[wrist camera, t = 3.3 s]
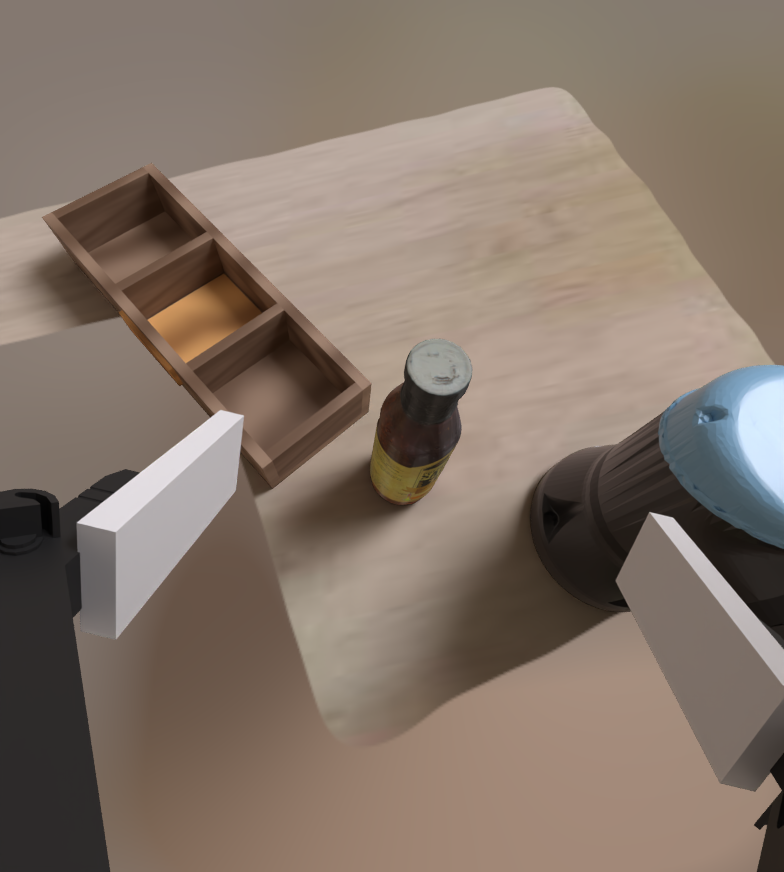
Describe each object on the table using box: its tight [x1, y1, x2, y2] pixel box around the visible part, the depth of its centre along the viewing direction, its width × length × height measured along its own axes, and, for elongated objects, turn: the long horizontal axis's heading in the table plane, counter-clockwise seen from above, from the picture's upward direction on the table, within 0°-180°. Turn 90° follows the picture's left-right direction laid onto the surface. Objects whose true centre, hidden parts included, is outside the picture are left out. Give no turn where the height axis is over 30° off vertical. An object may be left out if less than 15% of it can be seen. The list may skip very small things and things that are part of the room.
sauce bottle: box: [370, 339, 472, 505], centre depth 38 cm, size 6×6×20 cm
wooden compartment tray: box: [42, 163, 371, 489], centre depth 48 cm, size 34×12×6 cm, turn 43°
